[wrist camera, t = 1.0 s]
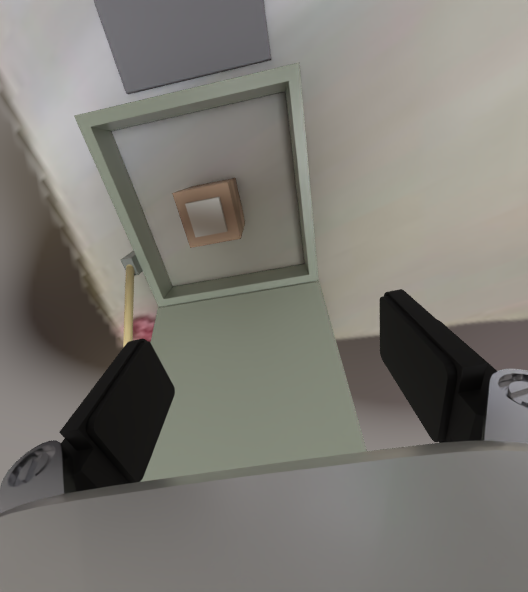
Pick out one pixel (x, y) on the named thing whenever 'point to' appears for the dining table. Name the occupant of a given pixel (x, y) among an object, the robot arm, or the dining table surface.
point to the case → (233, 317)
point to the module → (211, 212)
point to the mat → (182, 38)
